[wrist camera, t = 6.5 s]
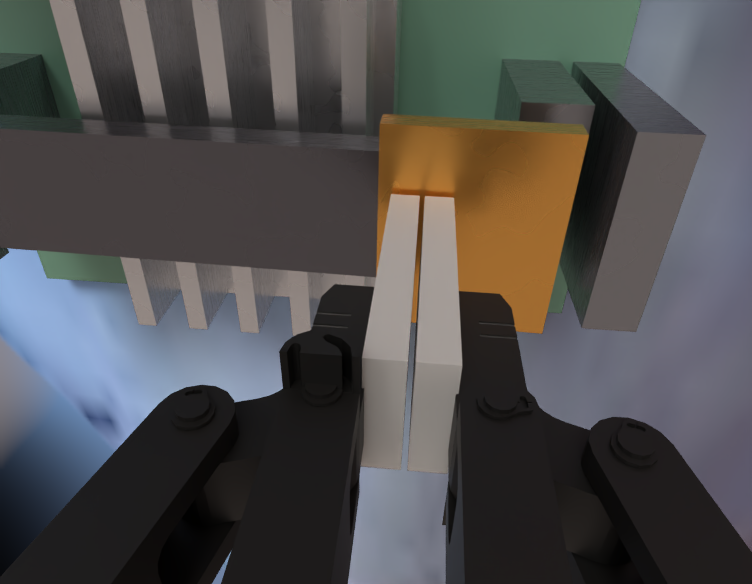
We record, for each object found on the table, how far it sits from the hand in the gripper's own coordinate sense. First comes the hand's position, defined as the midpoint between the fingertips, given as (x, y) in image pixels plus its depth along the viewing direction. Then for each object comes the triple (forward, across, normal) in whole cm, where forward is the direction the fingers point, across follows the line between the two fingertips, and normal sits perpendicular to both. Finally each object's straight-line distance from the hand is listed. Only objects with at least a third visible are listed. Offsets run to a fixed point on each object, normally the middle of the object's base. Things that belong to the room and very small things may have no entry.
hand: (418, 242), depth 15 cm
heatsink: (+8, -6, 0) cm, 10 cm away
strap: (+2, -6, 0) cm, 7 cm away
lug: (+8, +5, 0) cm, 9 cm away
